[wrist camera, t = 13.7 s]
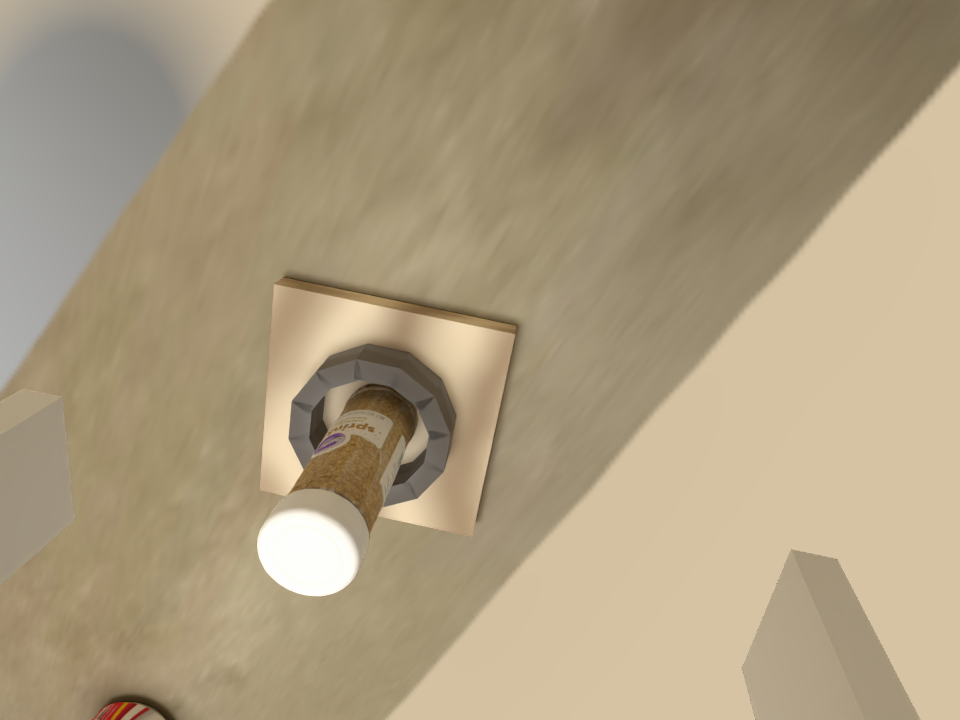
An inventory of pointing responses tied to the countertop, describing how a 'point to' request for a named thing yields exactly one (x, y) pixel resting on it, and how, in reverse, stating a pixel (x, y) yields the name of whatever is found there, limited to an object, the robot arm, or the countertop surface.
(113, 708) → the soda can
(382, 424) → the sprinkles bottle
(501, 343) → the mount plate
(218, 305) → the countertop surface
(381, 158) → the countertop surface
